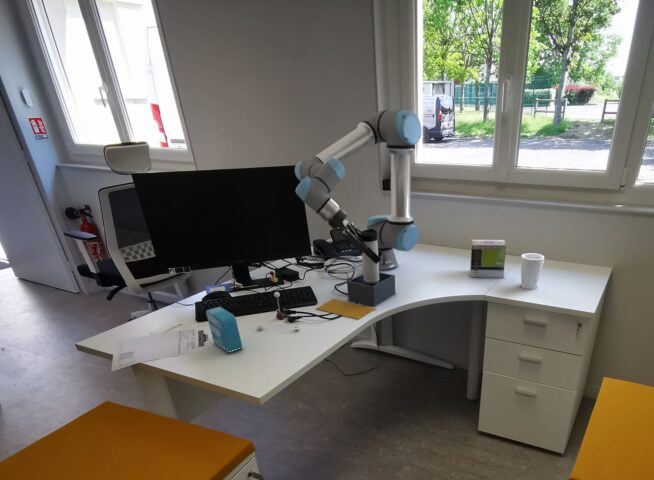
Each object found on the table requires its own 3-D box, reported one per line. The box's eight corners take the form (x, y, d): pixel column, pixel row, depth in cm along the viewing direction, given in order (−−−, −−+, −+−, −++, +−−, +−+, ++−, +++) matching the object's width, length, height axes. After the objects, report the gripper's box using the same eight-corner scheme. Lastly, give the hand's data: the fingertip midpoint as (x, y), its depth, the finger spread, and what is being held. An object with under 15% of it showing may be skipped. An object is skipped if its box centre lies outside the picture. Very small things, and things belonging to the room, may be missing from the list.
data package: (213, 342, 151) (204, 309, 144) (226, 338, 154) (218, 305, 147) (230, 354, 144) (221, 320, 137) (243, 350, 146) (235, 315, 140)
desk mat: (315, 309, 174) (315, 308, 174) (333, 299, 183) (333, 298, 182) (358, 319, 166) (358, 318, 166) (375, 309, 174) (374, 308, 174)
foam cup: (541, 284, 197) (546, 254, 190) (537, 291, 190) (541, 261, 183) (520, 281, 200) (524, 252, 193) (515, 288, 193) (518, 258, 186)
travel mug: (382, 279, 183) (379, 229, 173) (375, 285, 178) (372, 233, 167) (368, 278, 185) (364, 228, 174) (361, 283, 180) (357, 232, 169)
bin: (348, 300, 182) (346, 281, 178) (370, 288, 193) (369, 270, 189) (374, 306, 177) (373, 287, 172) (395, 293, 188) (394, 275, 184)
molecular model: (290, 315, 170) (284, 283, 163) (300, 331, 158) (295, 297, 152) (253, 322, 164) (246, 289, 158) (261, 339, 153) (254, 304, 146)
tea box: (502, 271, 212) (505, 239, 204) (503, 278, 204) (506, 245, 196) (469, 270, 213) (471, 238, 205) (469, 277, 205) (471, 244, 197)
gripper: (331, 216, 178) (375, 257, 186) (322, 228, 161) (370, 273, 170) (344, 202, 175) (388, 244, 183) (335, 213, 158) (384, 259, 167)
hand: (379, 258), depth 176 cm, fingers closed on travel mug, 6 cm apart
